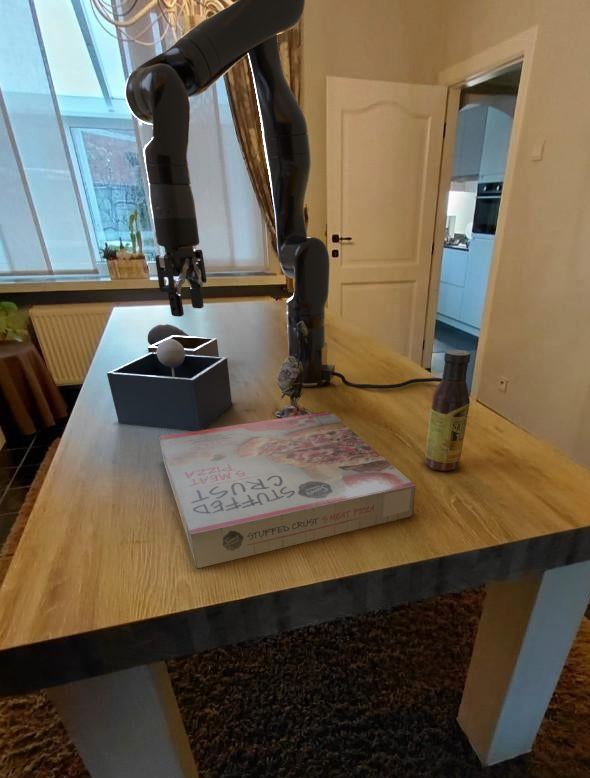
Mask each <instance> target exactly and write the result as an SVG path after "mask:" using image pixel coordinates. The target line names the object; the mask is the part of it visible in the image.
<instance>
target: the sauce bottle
mask: <svg viewBox="0 0 590 778" xmlns="http://www.w3.org/2000/svg"><path fill="white" fill-rule="evenodd" d="M443 361H444V364H443V365H444V366H443V372H442V375H441V378H442V381H441V382H439V384H437V385H436V387H435V389H434V390H433V396H432V403H431V406H430V412H429V421H428V427H427V428H428V429H427V436H426V443H425V450H424V451H425V452H424V455H425V458H424V463H425V465H426V467H428V468H430V469H432V470H435V471H439V472H449V471H454V470H456V469H457V468H458V467H459V463H460V460H461V457H462V451H463V445H464V441H465V434H466V428H467V422H468V416H469V411H470V410H469V409H470V404H471V401H470V395H469V390H468V385H467V373H468V366H469V364H470V361H471V352H470V351H468V350H464V349H446V350H445V352H444V357H443Z"/></svg>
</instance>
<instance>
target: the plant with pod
mask: <svg viewBox="0 0 590 778" xmlns="http://www.w3.org/2000/svg"><path fill="white" fill-rule="evenodd" d="M296 328H297V329H296V330H297V337H298V340H299V345H300V350H299V357H298V359H297V358H296V357H294V356H289V355H288V356H287V357H286V358H285V360H283V362H282V363H281V365H280V368H279V369H278V372H277V377H276V384H277V385H278V387H279V389H280V390H281V393H282V395H281V397H280V398H281V399H284V397H285V396H287V397H289V403H290V404H287V405H284V406H283V408H282V409H278V410H276V411H274V412H273V414H275V416H276V417H278V418H287V417H293V416H300V415H307V414H312V412H311V410H309V409H308V408H306V407H305V406H304V405H303V404H299V401H300V399H301V397H302V395H303V392H304V391H303V390H304V387H303V379H304V376H303V375H304V374H303V371H304V369H303V366H302V364H301V362H300V351H301V345H302V340H305V342H306V343H308V342H307V339H306V337H307V336H308V331H307V328H306V325H305V324H304V322H303V321H300V322H299V323H298V324H297V326H296ZM295 355H297V354H295Z"/></svg>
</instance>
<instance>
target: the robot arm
mask: <svg viewBox="0 0 590 778" xmlns="http://www.w3.org/2000/svg"><path fill="white" fill-rule="evenodd" d="M305 4H306V0H236V1H234V2H233V3H232V4H230V5H228V6H227V7H225V8H223V9H221V10H220V11H218V12H215V13H214V14H212V15H210V16H209V17H207V18H206V19H204V20H202V21H201V22H200V23H198V24H196V25H195V26H193V27H192V28H191V29H190V30H188V31H187V32H186V33H184V34H183V35H182V36H181V37H180V38H179V39H178V40H177V41H176V42H174V43H173V44H172V45H171V46H170V47H168V49H166V50H165V51H163V52H161V53H159V54H157V55H155V56H154V57H152V58H151V59H150V58H149V60H147V61H145V62H143V63H142V64H141V65H139V66H138V67H136V68H135V69H134V70H133V71H132V72H131V73H130V74H129V75H128V77H127V80H126V82H125V88H124V95H125V100H126V104H127V106H128V108H129V110H130V112H131V114H132V115H133V116H134V117H135V118H137V120H139V121H140V122H142V123H144V124H147V125H152V137H151V140H150V141H149V142H148V143H147V144H145V145H144V148H143V157H144V164H145V169H146V170H145V171H146V174H147V181H148V189H149V203H150V211H151V216H152V222H153V228H154V233H155V239H156V244H157V245H158V246H160V247H163V248H164V254H156V255H155V256H154V259H155V261H154V262H155V266H156V272H157V275H156V276H157V281H158V287H159V288H158V289H159V292H161V293H165V294H166V295H167V296H168V302H169V308H170V314H171V316H172V317H178V318H179V317H183V316H184V315H185V312H184V306H183V299H182V294H181V291H182V286H183V285H184V284H185V283H186V281H187V284H188V286H189V287H190V288H189V294H190V301H191V306H192V308H193V309H198V310H199V309H203V308H204V306H205V304H204V298H203V290H202V288H203V287H204V284H205V283H207V273H206V267H205V259H204V254H203V253H204V252H203V250H202V249H198V248H194V247H195V246H199V244H200V235H199V228H198V219H197V212H196V205H195V199H194V198H195V197H194V195H193V194H194V193H193V189H192V185H191V175H190V169H189V162H188V148H189V139H190V125H191V124H190V122H191V105H190V99H191V98H194V97H197V96H199V95H201V94H204V93H205V92H206V91H207V90H208V89H209V88H210V87H212V86H213V85H214V84H215V83H217V82H218V81H219V80H220V79H221V78H222V77H223V76H224V75H225V74H226V73H227V72H229V70H231V69H232V68H233V67H234V66H235V65H236V64H238V63H239V62H240V61H241V60H242V59H243V58H244V57H245V56H247V55H248V59H249V65H250V68H251V72H252V78H253V84H254V89H255V94H256V100H257V106H258V112H259V117H260V118H259V119H260V123H261V124H260V125H261V131H262V139H263V140H262V141H263V145H264V153H265V154H264V155H265V159H266V165H267V169H268V175H269V183H270V189H271V196H272V203H273V210H274V218H275V219H274V220H275V231H276V232H275V233H276V246H277V247H276V249H277V258H278V263H279V266H280V268H281V271H282V272H283V274H284V275H285V276H287V277H288V278H290V279H292V280H294V292H293V295H292V296H290V297H288V299H287V300H286V324H287V325H286V326H287V327H286V328H287V329H286V330H287V351H288V356H294V357H296V358H297V359H298V357H299V350H300V345H299V340H298V337H297V330H296V329H297V328H296V326H297V324H298V323H299V322H300V321H303V322H304V324H305V325H306V328H307V331H308V336H307V337H306V339H307V342H308V343H306V342H305V340H302V345H301V351H300V362H301V364H302V366H303V369H304V371H303V374H304V375H303V376H304V379H303V388H316V387H323V386H324V385H325V384H326V382H331V381H332V379H333V378H334V377H338V378H340V379H341V382H342V383H344V384H345V385H347V386H351V387H354V388H360V389H362V388H363V389H378V390H379V389H380V390H381V389H384V390H385V389H387V390H388V389H397V388H401V387H405V386H408V385H410V384H414V383H429V382H430V383H433V382H438V383H440V382H441V381H442V379H443V377H426V378H425V377H424V378H412V379H409V380H406V381H403V382H400V383H394V384H393V383H392V384H373V383H371V384H370V383H354V382H351V381H349V380H347V379H346V377H345V375H343V374H342V373H340V372H336V371H335V370H336V366H335V364H328V343H327V342H326V305H327V301H328V298H329V293H330V292H329V291H330V290H329V289H330V265H331V264H330V254H329V250H328V248H327V245H326V244H325V243H324V241H323V240H322V239H320V238H318V237H314V236H309V235H308V233H307V227H306V219H305V199H306V194H307V189H308V184H309V180H310V174H311V168H312V167H311V165H312V159H311V148H310V147H311V146H310V139H309V138H310V137H309V130H308V123H307V120H306V117H305V114H304V112H303V110H302V108H301V106H300V104H299V101H298V100H297V98H296V96H295V94H294V93H293V91H292V89H291V87H290V85H289V83H288V81H287V78H286V77H285V73H284V70H283V66H282V65H283V64H282V60H281V54H280V53H281V52H280V48H279V39H278V35H280V34H284V33H287V32H289V31H290V30H292V29H293V28H294V27H296V26H297V25H298V24H299V22H300V20H301V19H302V16H303V15H304V10H305ZM165 281H166V282H165ZM295 354H297V355H295Z"/></svg>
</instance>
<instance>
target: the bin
mask: <svg viewBox="0 0 590 778" xmlns="http://www.w3.org/2000/svg"><path fill="white" fill-rule="evenodd" d="M174 374H175V377H173V375H172V368H171V367H167V366H165V365H163V364H162V363H161V362H160V361H159V359H158V357H157V354H156V353H154V352H150V353H149V352H148V353H146V354H144V355H142V356H139V357H138V358H137V357H136V358H135V359H134V360H130V361H129V362H127V363H124V364H123V365H120V366H119V367H116V368H114V369H112V370H111V371H107V372H106V376H107V381H108V384H109V390H110V393H111V398H112V401H113V405H114V410H115V412H116V418H117V421H118V424H124V425H134V426H144V427H154V428H164V429H173V430H185V431H191V432H192V431H199V430H205V428H206V427H207V426H208V425H210V424H211V423H212V422H213V421H214V420H216V419H217V417H219V416H220V415H221V414H222V413H224V411H226V410H227V409H228V408H229V407H230V406H231V405H232V404H233V399H232V391H231V390H232V389H231V382H230V373H229V363H228V357H221V356H219V357H210V356H196V355H185V359H184V361H183V363H182V364H181V365H179V366H177V367H174Z"/></svg>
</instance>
